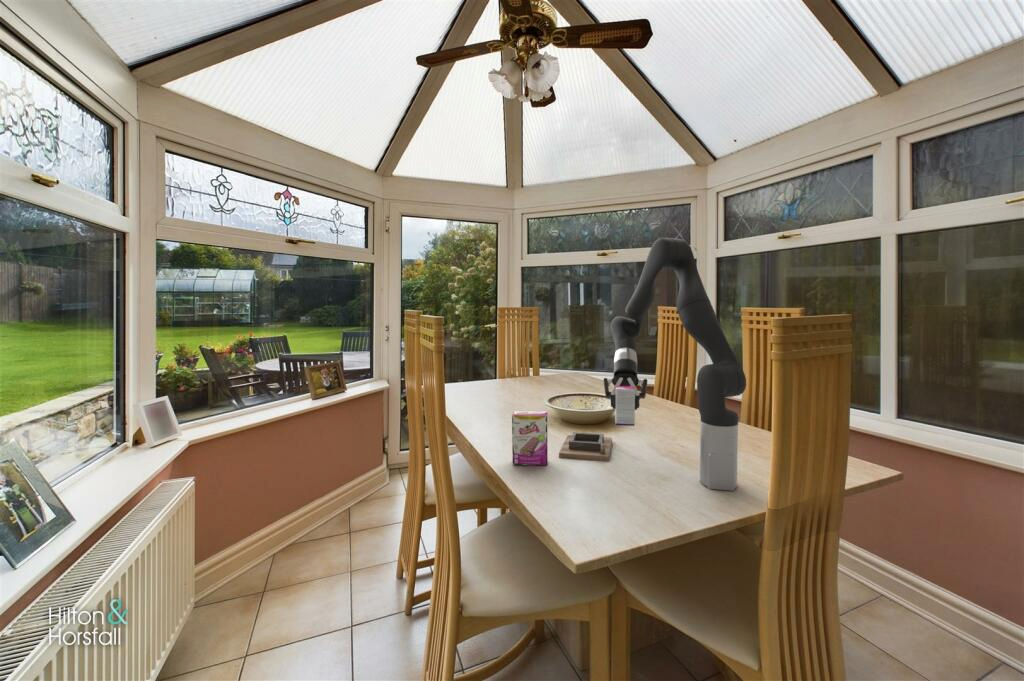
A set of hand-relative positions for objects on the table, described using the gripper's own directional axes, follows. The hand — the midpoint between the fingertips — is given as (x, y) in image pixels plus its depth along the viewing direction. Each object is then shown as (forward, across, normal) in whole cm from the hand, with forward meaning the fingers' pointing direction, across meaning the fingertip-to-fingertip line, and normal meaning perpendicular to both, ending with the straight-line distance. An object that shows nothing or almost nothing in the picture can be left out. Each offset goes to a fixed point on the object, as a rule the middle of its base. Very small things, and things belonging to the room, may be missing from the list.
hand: (624, 407), depth 132 cm
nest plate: (+4, -13, +21) cm, 25 cm away
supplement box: (+3, 0, +5) cm, 6 cm away
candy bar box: (+16, -29, +9) cm, 35 cm away
